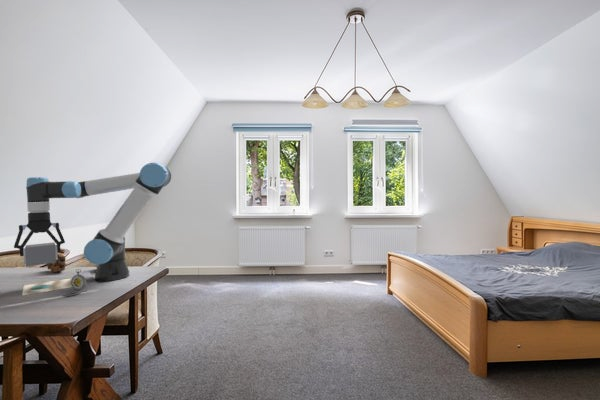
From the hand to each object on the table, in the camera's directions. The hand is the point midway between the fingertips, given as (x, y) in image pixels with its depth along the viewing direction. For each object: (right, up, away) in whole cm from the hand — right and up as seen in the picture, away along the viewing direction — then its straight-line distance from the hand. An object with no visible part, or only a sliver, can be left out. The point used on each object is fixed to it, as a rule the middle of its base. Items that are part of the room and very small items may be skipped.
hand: (41, 261), depth 137 cm
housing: (0, -1, 0) cm, 1 cm away
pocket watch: (+19, -13, -6) cm, 24 cm away
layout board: (+4, -13, +3) cm, 14 cm away
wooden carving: (-19, -13, +33) cm, 40 cm away
